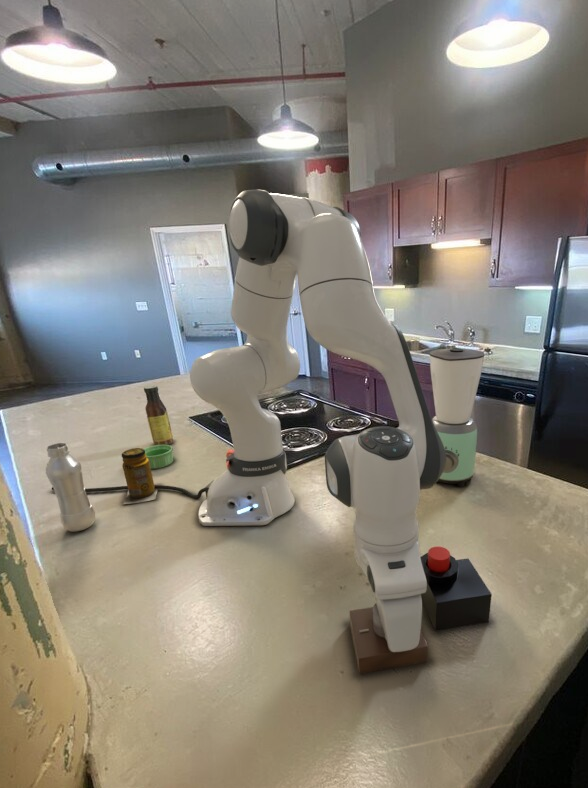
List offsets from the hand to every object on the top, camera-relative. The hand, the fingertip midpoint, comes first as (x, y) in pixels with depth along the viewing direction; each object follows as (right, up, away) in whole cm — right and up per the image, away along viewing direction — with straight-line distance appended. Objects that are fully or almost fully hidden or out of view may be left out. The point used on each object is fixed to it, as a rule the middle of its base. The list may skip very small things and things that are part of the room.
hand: (386, 622), depth 62 cm
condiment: (-62, +12, +46) cm, 78 cm away
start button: (+9, +6, +7) cm, 13 cm away
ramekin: (-66, +19, +64) cm, 94 cm away
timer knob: (0, -1, 0) cm, 1 cm away
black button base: (+11, -1, +8) cm, 14 cm away
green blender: (+20, +16, +53) cm, 59 cm away
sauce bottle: (-73, +24, +80) cm, 110 cm away
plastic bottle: (-68, +7, +33) cm, 76 cm away
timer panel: (0, -4, +1) cm, 4 cm away
